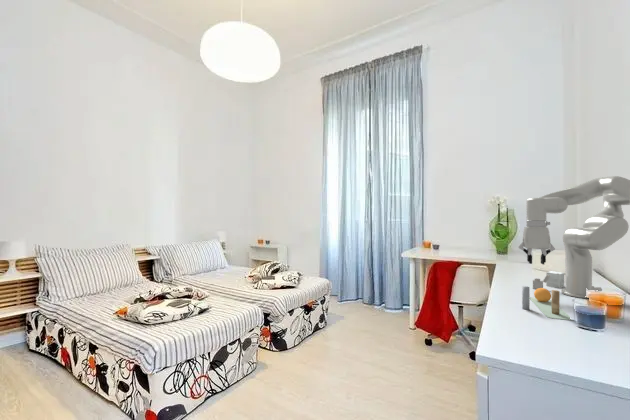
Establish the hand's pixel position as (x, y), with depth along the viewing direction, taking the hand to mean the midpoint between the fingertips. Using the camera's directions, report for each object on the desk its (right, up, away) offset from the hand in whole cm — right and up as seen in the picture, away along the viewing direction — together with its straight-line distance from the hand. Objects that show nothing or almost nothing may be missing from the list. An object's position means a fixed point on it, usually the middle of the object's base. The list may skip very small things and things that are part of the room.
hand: (536, 263), depth 143 cm
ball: (-4, -12, -9) cm, 16 cm away
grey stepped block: (+11, -16, +12) cm, 22 cm away
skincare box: (+23, -16, +18) cm, 33 cm away
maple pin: (-10, -15, -24) cm, 31 cm away
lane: (-7, -15, -17) cm, 24 cm away
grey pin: (-17, -15, -18) cm, 29 cm away
